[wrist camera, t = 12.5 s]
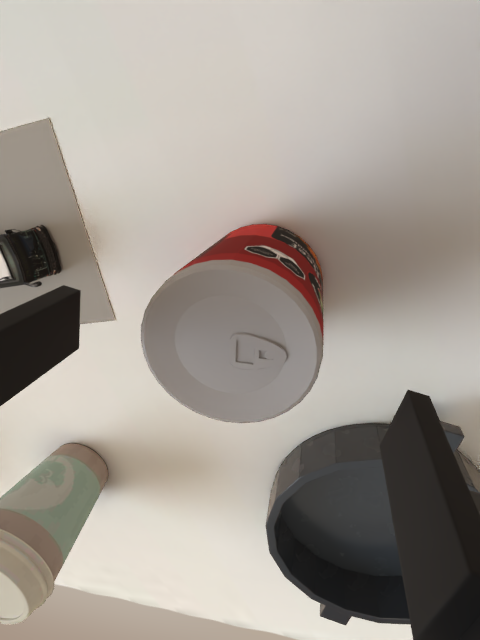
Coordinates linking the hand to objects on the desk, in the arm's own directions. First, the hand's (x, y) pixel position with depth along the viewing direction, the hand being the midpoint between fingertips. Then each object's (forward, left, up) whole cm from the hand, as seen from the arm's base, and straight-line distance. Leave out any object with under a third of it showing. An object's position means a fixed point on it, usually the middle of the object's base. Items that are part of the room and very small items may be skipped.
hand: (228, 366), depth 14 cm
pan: (-14, +17, -12) cm, 25 cm away
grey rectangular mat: (+25, +5, -12) cm, 29 cm away
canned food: (0, 0, -12) cm, 12 cm away
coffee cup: (+13, +24, -12) cm, 30 cm away
